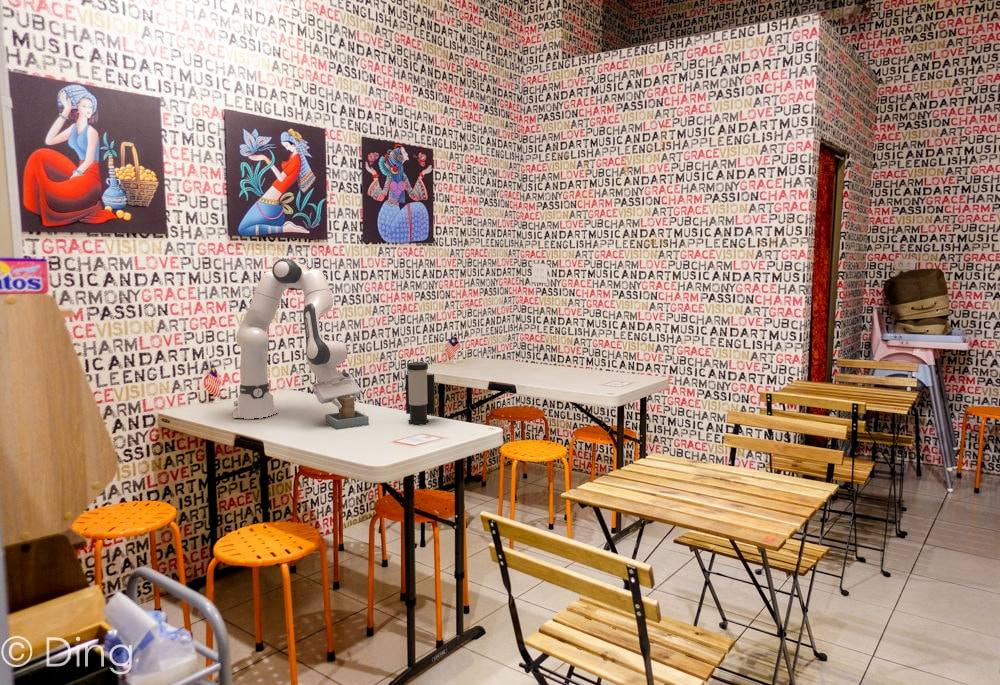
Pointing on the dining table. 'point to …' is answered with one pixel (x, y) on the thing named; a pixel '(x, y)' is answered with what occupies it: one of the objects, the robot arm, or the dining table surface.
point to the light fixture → (419, 393)
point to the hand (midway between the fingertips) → (347, 406)
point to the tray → (346, 420)
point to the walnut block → (347, 407)
